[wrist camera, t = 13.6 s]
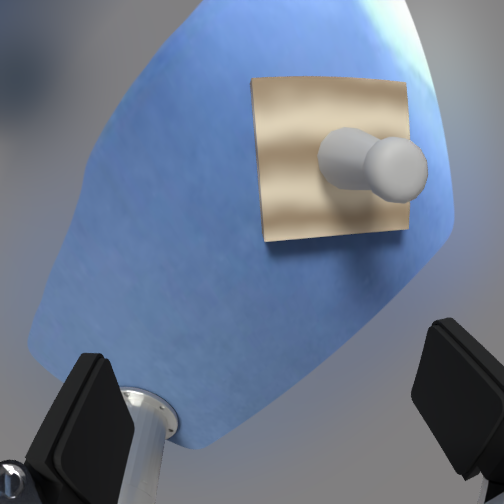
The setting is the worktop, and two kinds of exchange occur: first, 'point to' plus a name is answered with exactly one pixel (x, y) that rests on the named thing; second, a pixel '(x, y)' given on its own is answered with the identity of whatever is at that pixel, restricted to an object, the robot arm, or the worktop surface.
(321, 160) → the salt shaker
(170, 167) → the worktop surface
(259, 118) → the plinth
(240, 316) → the worktop surface
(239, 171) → the worktop surface
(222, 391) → the worktop surface
